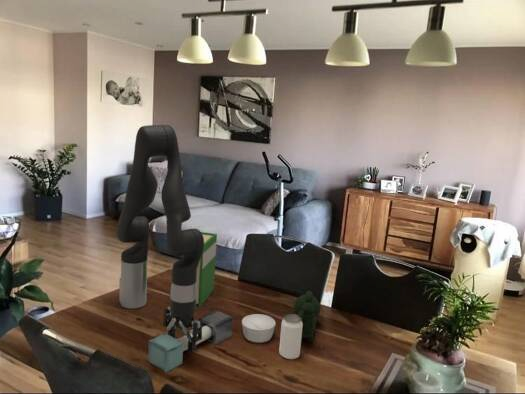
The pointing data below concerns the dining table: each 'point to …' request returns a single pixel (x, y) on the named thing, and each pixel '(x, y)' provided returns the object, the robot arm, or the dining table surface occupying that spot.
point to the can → (290, 336)
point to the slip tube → (206, 333)
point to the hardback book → (206, 268)
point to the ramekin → (258, 327)
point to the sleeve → (218, 325)
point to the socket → (165, 352)
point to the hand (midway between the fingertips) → (181, 346)
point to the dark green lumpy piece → (307, 314)
